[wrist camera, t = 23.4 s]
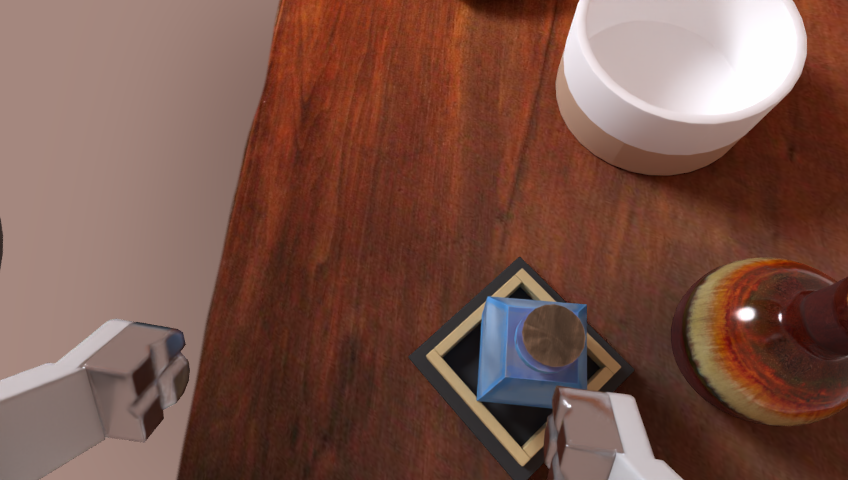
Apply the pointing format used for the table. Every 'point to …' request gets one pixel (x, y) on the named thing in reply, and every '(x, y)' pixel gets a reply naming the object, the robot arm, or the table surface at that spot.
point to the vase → (766, 341)
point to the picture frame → (459, 362)
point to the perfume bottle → (531, 350)
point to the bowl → (675, 77)
